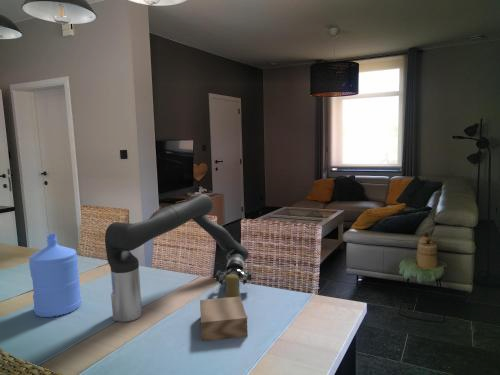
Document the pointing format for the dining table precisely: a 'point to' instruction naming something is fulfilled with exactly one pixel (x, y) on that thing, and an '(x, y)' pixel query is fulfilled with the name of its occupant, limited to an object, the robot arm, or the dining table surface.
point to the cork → (232, 286)
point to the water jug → (55, 279)
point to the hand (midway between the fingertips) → (232, 282)
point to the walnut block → (223, 318)
